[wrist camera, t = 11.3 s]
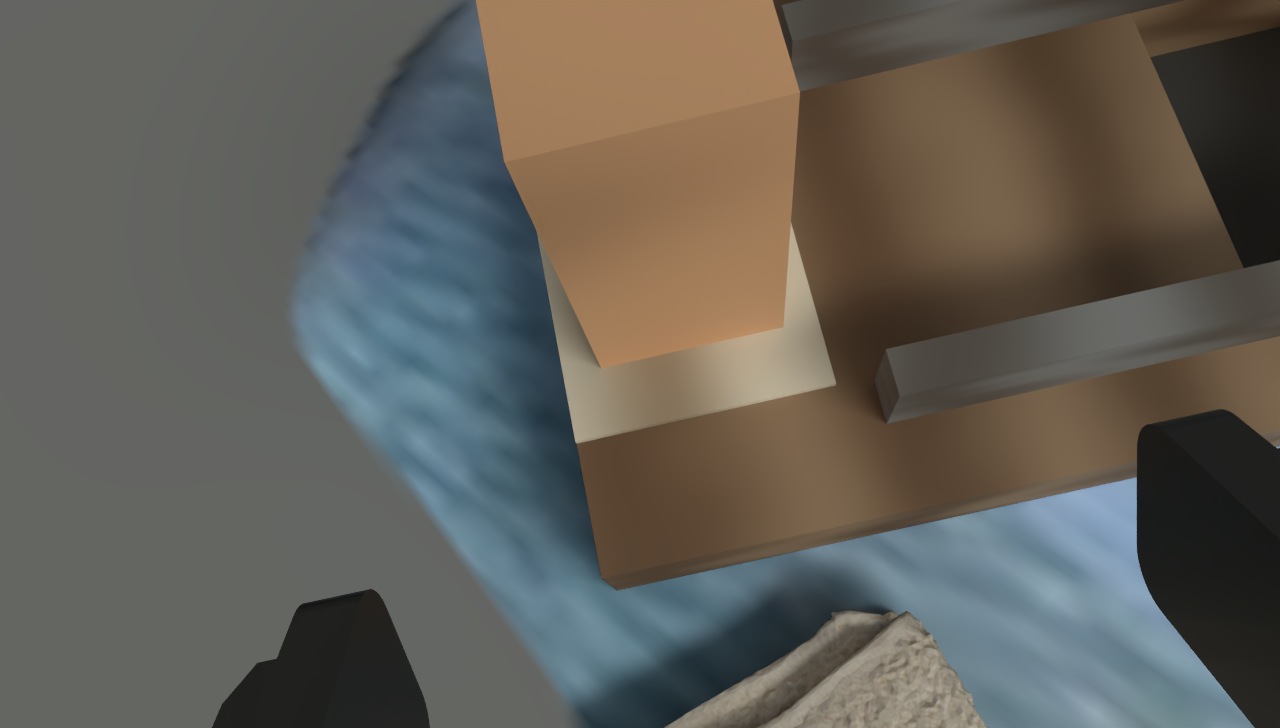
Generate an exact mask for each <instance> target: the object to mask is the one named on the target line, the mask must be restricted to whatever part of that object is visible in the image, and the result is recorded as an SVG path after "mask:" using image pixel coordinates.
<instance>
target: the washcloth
mask: <svg viewBox="0 0 1280 728" xmlns="http://www.w3.org/2000/svg"><path fill="white" fill-rule="evenodd" d="M831 615H832V618H831V620H829V621H827V622H825V623H824V625H823V626H822V627H821V628H820V629H819V630H818V632H817V633H816V635H815V636H813V637H812V638H811V639H810V640H808V641H806V642H804V643H803V644H801V645H799V646H798V647H797V648H795V649H794V650H792V651H791V652H789V653H788V654H786V655H785V656H783V657H782V658H780V659H778V660H776V661H775V662H773V663H772V664H770V665H769V666H767V667H765V668H763V669H761V670H759V671H757V672H756V673H754V674H753V675H751V676H749V677H747V678H745V679H744V680H742V681H741V682H739V683H737V684H735V685H733V686H732V687H730V688H728V689H727V690H725V691H723V692H721V693H720V694H719V695H717V696H715V697H713V698H711V699H710V700H708V701H706V702H704V703H702V704H701V705H699V706H698V707H696V708H694V709H692V710H691V711H689V712H688V713H686V714H685V715H683V716H681V717H680V718H678V719H677V720H676V721H674V722H672V723H670V724H668V725H667V726H665V727H664V728H988V727H987V726H986V725H985V724H984V722H983V721H982V719H981V717H980V716H979V714H978V713H977V711H976V710H975V706H974V705H973V698H972V695H971V694H970V693H969V692H968V691H966V690H965V689H964V687H963V685H962V682H961V680H960V678H959V676H958V674H957V673H956V672H955V670H954V669H952V668H951V667H950V666H949V665H948V663H947V662H946V660H945V658H944V656H943V654H942V652H941V650H940V649H939V647H938V646H937V643H936V641H935V640H933V636H932V634H931V633H928V632H927V631H926V630H925V629H924V627H923V625H922V622H921V621H919V620H917V619H916V618H914V616H913V615H912V614H911V613H909V612H908V611H906V612H904V613H902V614H901V615H898V614H897V613H895V612H894V611H890V612H888V613H885V614H883V615H880V614H874V613H866V612H859V611H853V610H847V611H841V612H831Z"/></svg>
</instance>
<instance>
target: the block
mask: <svg viewBox="0 0 1280 728" xmlns="http://www.w3.org/2000/svg"><path fill="white" fill-rule="evenodd" d="M476 4H477V10H478V16H479V21H480V27H481V33H482V38H483V44H484V50H485V55H486V61H487V67H488V72H489V78H490V84H491V90H492V95H493V101H494V107H495V112H496V118H497V124H498V129H499V135H500V141H501V146H502V152H503V158H504V163H505V165H506V167H507V169H508V171H509V173H510V175H511V178H512V180H513V182H514V184H515V186H516V188H517V190H518V192H519V195H520V197H521V199H522V201H523V203H524V205H525V207H526V209H527V212H528V214H529V216H530V218H531V220H532V222H533V224H534V226H535V229H536V231H537V233H538V235H539V237H540V239H541V241H542V243H543V246H544V248H545V250H546V252H547V254H548V256H549V258H550V260H551V263H552V265H553V267H554V269H555V271H556V273H557V275H558V277H559V279H560V282H561V284H562V286H563V288H564V290H565V292H566V294H567V296H568V299H569V301H570V303H571V305H572V307H573V309H574V311H575V313H576V316H577V318H578V320H579V322H580V324H581V326H582V328H583V330H584V333H585V335H586V337H587V339H588V341H589V343H590V345H591V347H592V350H593V352H594V354H595V356H596V358H597V360H598V362H599V364H600V367H601V368H605V367H610V366H614V365H619V364H623V363H628V362H632V361H636V360H641V359H645V358H650V357H654V356H658V355H663V354H667V353H672V352H676V351H680V350H685V349H689V348H694V347H698V346H703V345H707V344H711V343H716V342H720V341H725V340H729V339H733V338H738V337H742V336H747V335H751V334H755V333H760V332H764V331H769V330H773V329H778V328H782V327H784V312H785V298H786V284H787V270H788V256H789V242H790V228H791V213H792V199H793V185H794V171H795V157H796V143H797V129H798V115H799V100H800V91H799V87H798V84H797V80H796V77H795V74H794V70H793V67H792V64H791V60H790V57H789V54H788V50H787V47H786V44H785V40H784V37H783V34H782V30H781V27H780V23H779V20H778V17H777V13H776V10H775V7H774V3H773V0H476Z"/></svg>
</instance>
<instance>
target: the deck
mask: <svg viewBox="0 0 1280 728" xmlns="http://www.w3.org/2000/svg"><path fill="white" fill-rule="evenodd" d="M773 3H774V7H775V10H776V13H777V17H778V20H779V23H780V27H781V30H782V34H783V37H784V40H785V44H786V47H787V50H788V54H789V57H790V60H791V64H792V67H793V70H794V74H795V77H796V80H797V84H798V87H799V91H800V100H799V115H798V129H797V143H796V157H795V171H794V185H793V199H792V213H791V228H790V242H789V256H788V270H787V284H786V298H785V312H784V327H782V328H778V329H773V330H769V331H764V332H760V333H755V334H751V335H747V336H742V337H738V338H733V339H729V340H725V341H720V342H716V343H711V344H707V345H703V346H698V347H694V348H689V349H685V350H680V351H676V352H672V353H667V354H663V355H658V356H654V357H650V358H645V359H641V360H636V361H632V362H628V363H623V364H619V365H614V366H610V367H605V368H601V367H600V364H599V362H598V360H597V358H596V356H595V354H594V352H593V350H592V347H591V345H590V343H589V341H588V339H587V337H586V335H585V333H584V330H583V328H582V326H581V324H580V322H579V320H578V318H577V316H576V313H575V311H574V309H573V307H572V305H571V303H570V301H569V299H568V296H567V294H566V292H565V290H564V288H563V286H562V284H561V282H560V279H559V277H558V275H557V273H556V271H555V269H554V267H553V265H552V263H551V260H550V258H549V256H548V254H547V252H546V250H545V248H544V246H543V243H542V241H541V239H540V237H539V235H538V233H537V237H538V242H539V247H540V253H541V258H542V264H543V269H544V274H545V280H546V285H547V291H548V296H549V302H550V307H551V312H552V318H553V323H554V329H555V334H556V340H557V345H558V350H559V356H560V361H561V367H562V372H563V378H564V383H565V388H566V394H567V399H568V405H569V410H570V415H571V421H572V426H573V432H574V437H575V442H576V443H577V448H578V454H579V459H580V464H581V470H582V475H583V481H584V486H585V492H586V497H587V502H588V508H589V513H590V519H591V524H592V529H593V535H594V540H595V546H596V551H597V556H598V562H599V567H600V573H601V578H602V579H603V580H604V581H606V582H607V583H608V584H609V585H611V586H612V587H613V588H615V589H616V590H622V589H626V588H631V587H635V586H640V585H644V584H649V583H654V582H658V581H663V580H667V579H672V578H676V577H681V576H686V575H690V574H695V573H699V572H704V571H709V570H713V569H718V568H722V567H727V566H731V565H736V564H741V563H745V562H750V561H754V560H759V559H764V558H768V557H773V556H777V555H782V554H786V553H791V552H796V551H800V550H805V549H809V548H814V547H818V546H823V545H828V544H832V543H837V542H841V541H846V540H851V539H855V538H860V537H864V536H869V535H873V534H878V533H883V532H887V531H892V530H896V529H901V528H906V527H910V526H915V525H919V524H924V523H928V522H933V521H938V520H942V519H947V518H951V517H956V516H960V515H965V514H970V513H974V512H979V511H983V510H988V509H993V508H997V507H1002V506H1006V505H1011V504H1015V503H1020V502H1025V501H1029V500H1034V499H1038V498H1043V497H1047V496H1052V495H1057V494H1061V493H1066V492H1070V491H1075V490H1080V489H1084V488H1089V487H1093V486H1098V485H1102V484H1107V483H1112V482H1116V481H1121V480H1125V479H1130V478H1135V477H1137V441H1138V436H1139V433H1140V431H1141V429H1142V428H1143V427H1144V426H1145V425H1148V424H1152V423H1157V422H1162V421H1166V420H1171V419H1176V418H1180V417H1185V416H1190V415H1194V414H1199V413H1204V412H1208V411H1213V410H1218V409H1225V410H1228V411H1230V412H1232V413H1233V414H1235V415H1236V416H1237V417H1239V418H1240V419H1241V420H1242V421H1244V422H1245V423H1246V424H1247V425H1249V426H1250V427H1251V428H1252V429H1253V430H1255V431H1256V432H1257V433H1258V434H1260V435H1261V436H1262V437H1263V438H1265V439H1266V440H1267V441H1268V442H1270V443H1271V444H1272V445H1273V446H1274V447H1277V446H1280V0H773Z"/></svg>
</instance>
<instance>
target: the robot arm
mask: <svg viewBox="0 0 1280 728" xmlns="http://www.w3.org/2000/svg"><path fill="white" fill-rule="evenodd" d="M1137 553H1138V559H1139V564H1140V568H1141V571H1142V575H1143V578H1144V580H1145V583H1146V585H1147V588H1148V590H1149V592H1150V594H1151V596H1152V598H1153V600H1154V601H1155V603H1156V604H1157V606H1158V607H1159V609H1160V610H1161V611H1162V613H1163V614H1164V615H1165V616H1166V618H1167V619H1168V620H1169V621H1170V623H1171V624H1172V625H1173V626H1174V628H1175V629H1176V630H1177V631H1178V633H1179V634H1180V635H1181V636H1182V638H1183V639H1184V640H1185V641H1186V643H1187V644H1188V645H1189V646H1190V648H1191V649H1192V650H1193V651H1194V653H1195V654H1196V655H1197V656H1198V658H1199V659H1200V660H1201V661H1202V662H1203V664H1204V665H1205V666H1206V667H1207V669H1208V670H1209V671H1210V672H1211V674H1212V675H1213V676H1214V677H1215V679H1216V680H1217V681H1218V682H1219V684H1220V685H1221V686H1222V687H1223V689H1224V690H1225V691H1226V692H1227V694H1228V695H1229V696H1230V697H1231V699H1232V700H1233V701H1234V702H1235V704H1236V705H1237V706H1238V707H1239V709H1240V710H1241V711H1242V712H1243V714H1244V715H1245V716H1246V717H1247V719H1248V720H1249V721H1250V722H1251V724H1252V725H1253V726H1254V727H1255V728H1280V448H1278V449H1277V448H1276V447H1274V446H1273V445H1272V444H1271V443H1270V442H1268V441H1267V440H1266V439H1265V438H1263V437H1262V436H1261V435H1260V434H1258V433H1257V432H1256V431H1255V430H1253V429H1252V428H1251V427H1250V426H1249V425H1247V424H1246V423H1245V422H1244V421H1242V420H1241V419H1240V418H1239V417H1237V416H1236V415H1235V414H1233V413H1232V412H1230V411H1228V410H1225V409H1218V410H1213V411H1208V412H1204V413H1199V414H1194V415H1190V416H1185V417H1180V418H1176V419H1171V420H1166V421H1162V422H1157V423H1152V424H1148V425H1145V426H1144V427H1143V428H1142V429H1141V431H1140V433H1139V436H1138V441H1137ZM212 728H430V726H429V718H428V712H427V708H426V704H425V700H424V697H423V695H422V692H421V689H420V687H419V684H418V682H417V680H416V677H415V675H414V672H413V670H412V668H411V665H410V663H409V661H408V658H407V656H406V653H405V651H404V649H403V646H402V644H401V641H400V639H399V637H398V634H397V632H396V630H395V627H394V625H393V622H392V620H391V618H390V615H389V613H388V610H387V608H386V606H385V604H384V602H383V600H382V598H381V597H380V595H379V594H378V593H377V592H376V591H374V590H372V589H369V590H364V591H360V592H355V593H350V594H346V595H341V596H337V597H332V598H327V599H323V600H318V601H313V602H309V603H304V604H302V605H300V606H299V607H298V609H297V610H296V612H295V614H294V616H293V619H292V621H291V624H290V626H289V629H288V631H287V634H286V637H285V639H284V642H283V645H282V647H281V650H280V652H279V655H278V657H277V659H274V660H269V661H265V662H260V663H257V664H256V665H255V667H254V668H253V669H252V670H251V671H250V672H249V674H248V675H247V676H246V677H245V678H244V680H243V681H242V682H241V683H240V684H239V685H238V686H237V688H236V689H235V690H234V691H233V692H232V694H230V696H229V697H228V698H227V699H226V700H225V701H224V703H223V704H222V706H221V708H220V710H219V713H218V715H217V717H216V720H215V722H214V724H213V727H212Z"/></svg>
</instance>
